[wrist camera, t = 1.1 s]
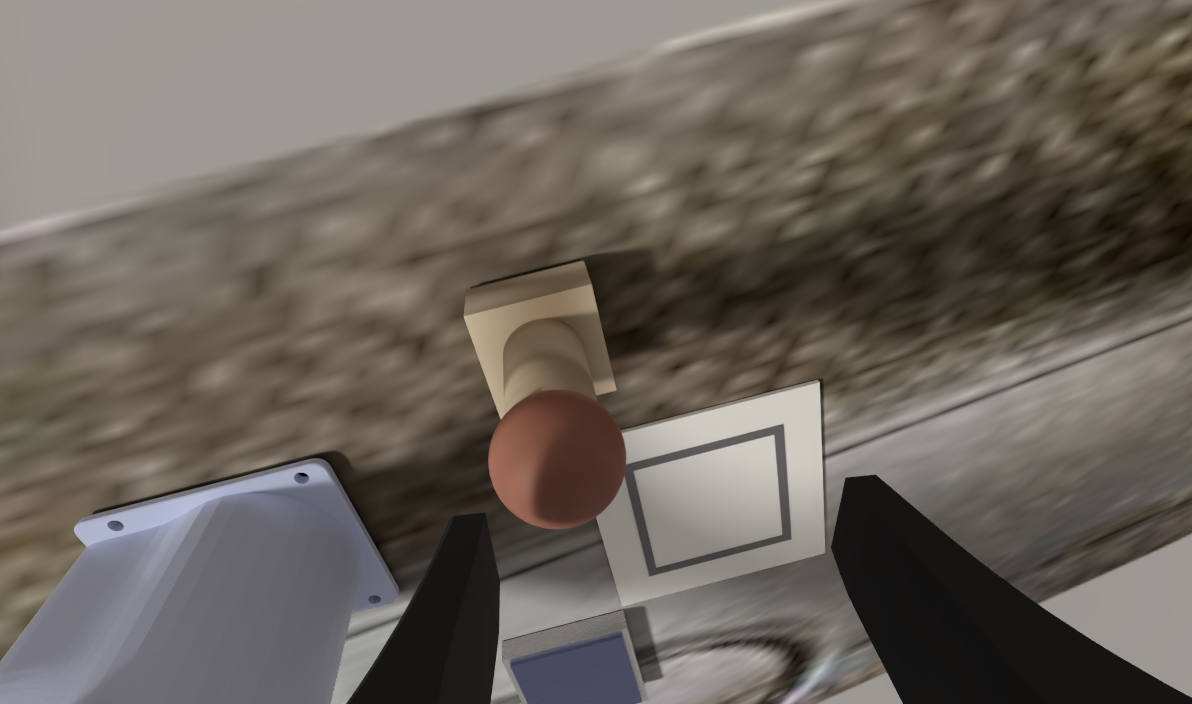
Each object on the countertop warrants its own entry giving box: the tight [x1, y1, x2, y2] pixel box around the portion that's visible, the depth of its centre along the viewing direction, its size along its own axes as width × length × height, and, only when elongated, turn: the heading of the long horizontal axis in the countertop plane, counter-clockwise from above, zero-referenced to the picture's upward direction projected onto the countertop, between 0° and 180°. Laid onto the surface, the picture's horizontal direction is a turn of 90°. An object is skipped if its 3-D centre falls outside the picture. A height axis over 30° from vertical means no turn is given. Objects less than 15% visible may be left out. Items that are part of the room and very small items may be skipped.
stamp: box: [464, 260, 626, 529], centre depth 18 cm, size 4×4×9 cm
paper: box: [596, 380, 825, 607], centre depth 27 cm, size 10×10×1 cm
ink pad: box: [502, 610, 648, 704], centre depth 31 cm, size 6×6×1 cm
